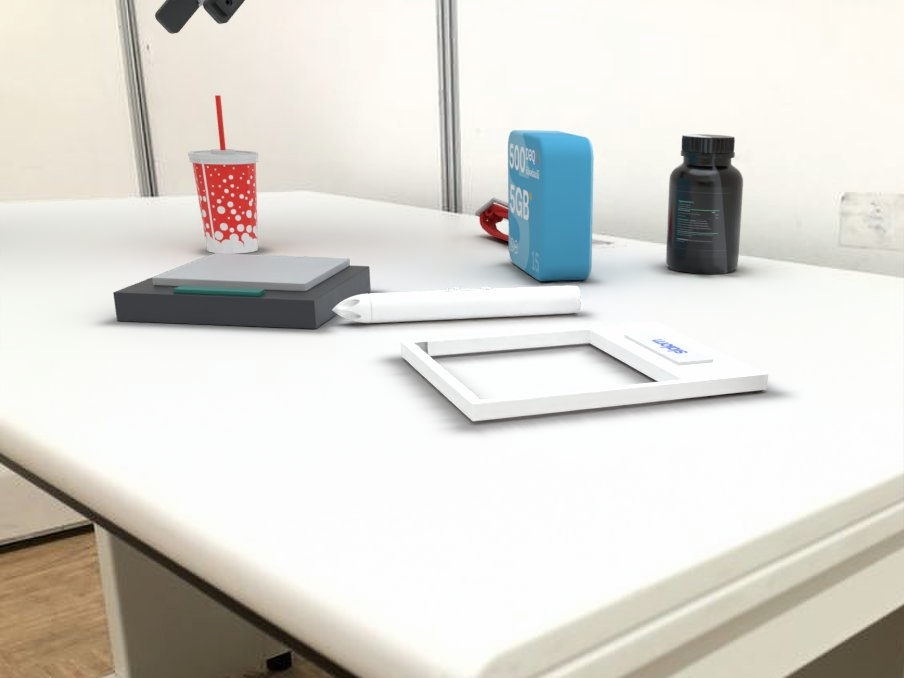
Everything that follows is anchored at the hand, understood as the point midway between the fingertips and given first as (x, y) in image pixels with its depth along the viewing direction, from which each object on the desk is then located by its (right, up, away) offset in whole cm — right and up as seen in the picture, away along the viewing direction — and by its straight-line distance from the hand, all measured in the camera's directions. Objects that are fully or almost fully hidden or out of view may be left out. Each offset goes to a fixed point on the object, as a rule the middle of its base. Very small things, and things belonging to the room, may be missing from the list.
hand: (187, 20), depth 95 cm
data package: (+31, -21, +5) cm, 37 cm away
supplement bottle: (+45, -20, +10) cm, 50 cm away
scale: (+10, -26, -12) cm, 31 cm away
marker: (+26, -28, -14) cm, 41 cm away
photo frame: (+35, -33, -28) cm, 56 cm away
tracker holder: (+27, -14, +22) cm, 38 cm away
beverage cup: (0, -18, +11) cm, 21 cm away
